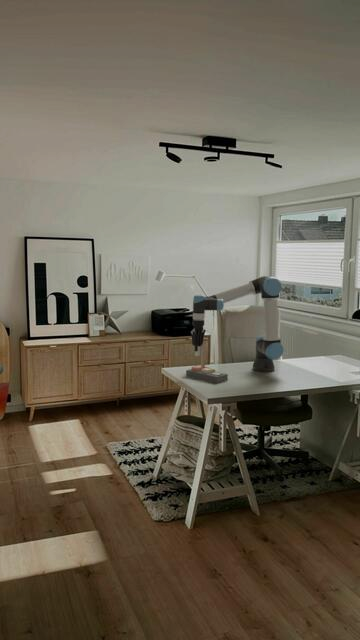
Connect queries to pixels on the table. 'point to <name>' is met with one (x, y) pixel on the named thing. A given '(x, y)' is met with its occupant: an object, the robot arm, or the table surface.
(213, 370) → the headphone stand
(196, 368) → the terracotta key
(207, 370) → the sand key
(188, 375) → the keypad
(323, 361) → the table surface
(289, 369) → the table surface
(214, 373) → the sage key
